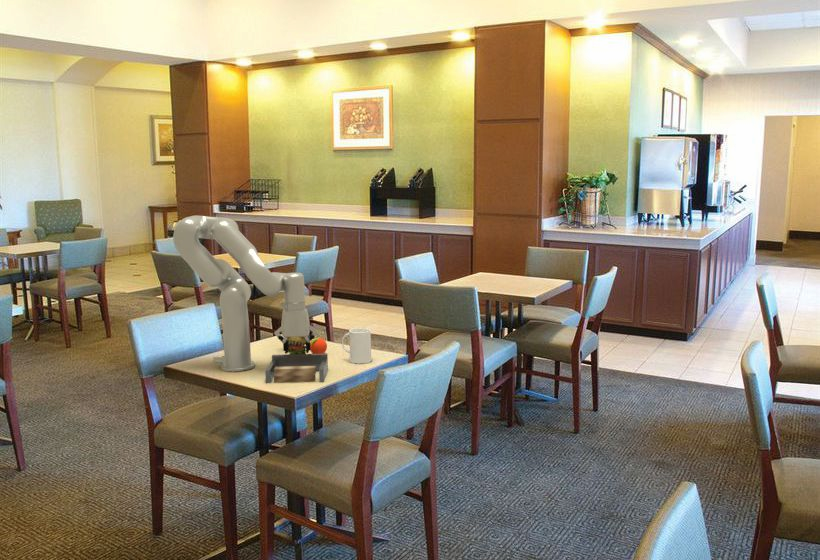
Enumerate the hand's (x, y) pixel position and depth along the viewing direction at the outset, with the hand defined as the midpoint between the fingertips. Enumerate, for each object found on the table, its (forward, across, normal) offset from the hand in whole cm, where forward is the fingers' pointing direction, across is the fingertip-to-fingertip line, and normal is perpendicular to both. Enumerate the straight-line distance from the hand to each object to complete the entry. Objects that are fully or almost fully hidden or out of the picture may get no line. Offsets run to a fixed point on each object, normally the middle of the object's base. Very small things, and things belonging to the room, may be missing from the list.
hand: (297, 352), depth 260 cm
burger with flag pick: (+4, 0, 0) cm, 4 cm away
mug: (+5, +22, +5) cm, 23 cm away
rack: (+5, +2, -14) cm, 15 cm away
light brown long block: (+5, +2, -20) cm, 20 cm away
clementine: (+5, +6, +14) cm, 16 cm away
